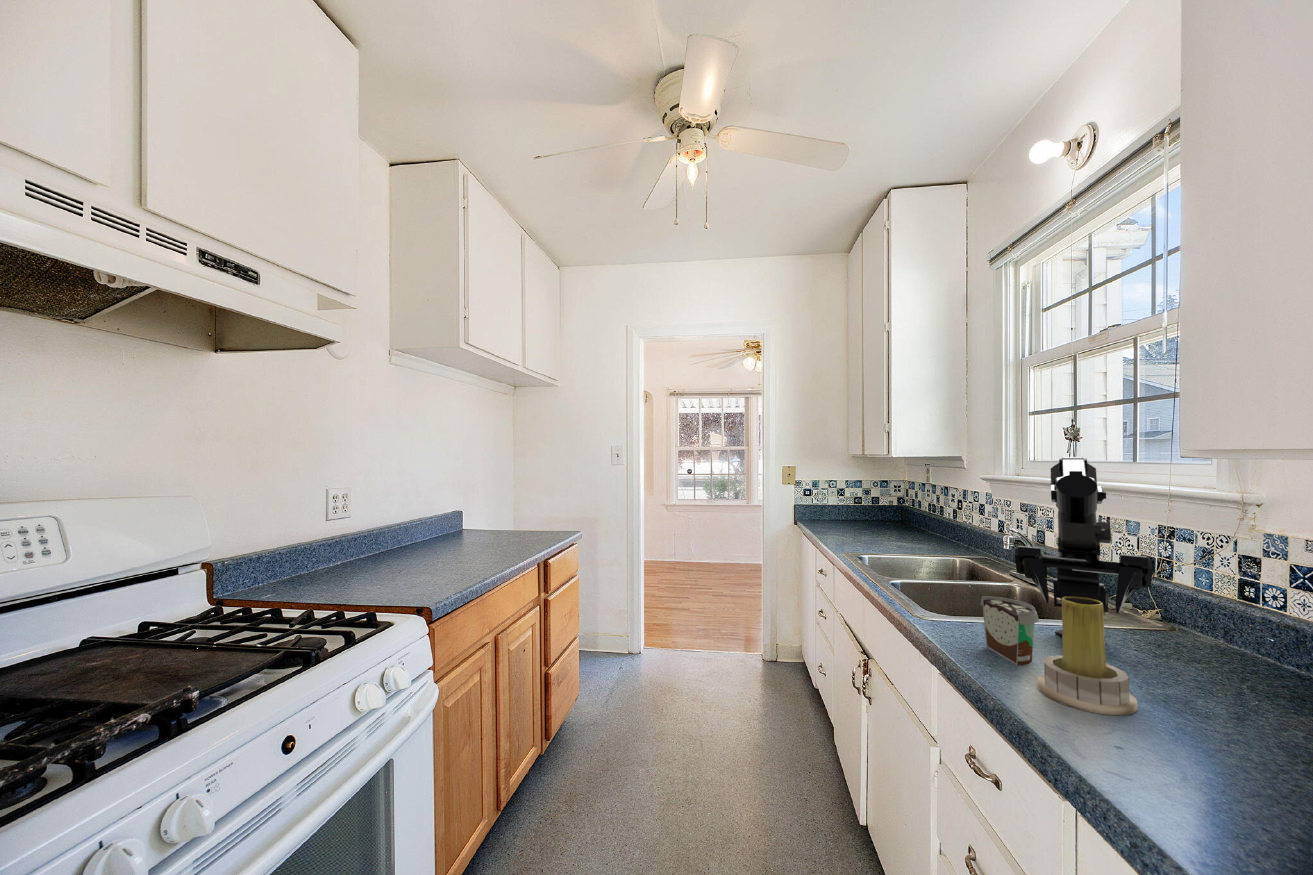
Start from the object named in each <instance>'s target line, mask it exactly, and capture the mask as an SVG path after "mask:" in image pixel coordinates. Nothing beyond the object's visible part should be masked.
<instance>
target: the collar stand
mask: <svg viewBox="0 0 1313 875" xmlns="http://www.w3.org/2000/svg"><path fill="white" fill-rule="evenodd" d="M1062 659H1063V655H1049V656H1048V657H1047V656H1046V657H1044V658H1043V673H1044V674H1043V675H1040V676H1039V677H1038V678H1037V688H1038V690H1039V692H1040V693H1041V694H1043V695H1044V696H1045V697H1047V698H1049V699H1051V700H1053V701H1055V702H1057V703H1059V704H1061V705H1065V706H1067V707H1070V708H1074V709H1077V710H1081V711H1085V712H1088V711H1089V713H1094V714H1098V713H1099V714H1100V715H1107V716H1128V715H1132V714H1135V713H1137V711H1138V701H1137V698H1136V697H1135V696H1134V695H1133V694H1131V693H1130V681H1129V680H1130V678H1129V676H1128V675H1127V673H1126V672H1125V671H1123V670H1122V669H1119V668H1117V667H1116V666H1114V665H1111V664H1108V663H1106V671H1107V679H1102V678H1092V677H1086V676H1080V675H1076V674H1073V673H1070V672H1067V671H1064V670H1062Z"/></svg>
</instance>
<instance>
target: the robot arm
mask: <svg viewBox="0 0 1313 875" xmlns="http://www.w3.org/2000/svg"><path fill="white" fill-rule="evenodd" d="M1050 498H1051V502H1052V503H1055V506H1056V508H1057V509H1058V512H1057V528H1058V530H1057V533H1058V535H1057V536H1058V537H1057V550H1058V555H1050V554H1049V555H1048V554H1042V548H1041V547H1039V546H1038V547H1037V546H1027V545H1026V546H1024V545H1018V546H1016V547H1015V548H1014V561H1015V569H1016V573H1018V574H1019V575H1024V577H1025V578H1026V579H1030V580H1032V581H1033V583H1034V585H1035V586H1037V588H1038V590H1039V593H1040V594H1041V596H1042V598H1043V600H1044V603H1045V604H1046V605H1049V604H1050V594H1049V589H1048V588H1049V587H1048V583H1047V577H1046V574H1045V568H1056V575H1057V576H1056V577H1053V578H1052V582H1053V584H1052V585H1053V586H1052V587H1053V588H1052V589H1053V607H1055V608H1057V607H1059V608H1062V598H1063V597H1069V596H1072V597H1084V598H1090V599H1094V600H1098V601H1100V602H1102V603H1103V610H1104V614H1105V613H1109V590H1107V589H1106V586H1105V583H1103V582H1100V574H1106V575H1115V576H1117V582H1116V583H1117V584H1116V592H1115V593H1116V594H1115V605H1114V606H1115V607H1114V608H1115V614H1117V615H1118V614H1119V615H1120V612H1121V610H1122V608H1123V606H1124V605H1125V602H1126V601H1127V599H1128V597H1129V596H1130V595H1131V594H1132V593H1133V591H1141V590H1142V588H1146V589H1147V588H1151V587H1152V581H1153V573H1154V572H1153V571H1154V567H1153V561H1152V559H1150V558H1149V557H1148V556H1145V555H1138V554H1137V555H1135V554H1124V553H1123V554H1122V553H1120V554H1119V561H1118V562H1117V561H1115V562H1114V561H1106V560H1100V556H1101V544H1111V543H1112V531H1111V530H1112V529H1111V523H1110V522H1098V519H1097V510H1098V505H1101V504H1102V503H1103V500H1106V499H1107V491H1105V490H1103V488H1102V487H1101V485H1098V479H1097V468H1096V467H1094V466H1093V465H1091V464H1090V463H1088V458H1087V457H1084V456H1062V457H1058V463H1056V464H1054V465H1053V466H1052V467H1050ZM1054 634H1055V635H1058V636H1060V637H1062V629H1060V630H1056V631H1055V632H1054ZM1104 640H1106V635H1104Z"/></svg>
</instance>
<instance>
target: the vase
mask: <svg viewBox="0 0 1313 875" xmlns="http://www.w3.org/2000/svg"><path fill="white" fill-rule="evenodd" d="M1061 619H1062V620H1061V622H1062V623H1061V624H1062V628H1061V630H1062V636H1061V638H1062V639H1061V641H1062V656H1063V659H1062V670H1064V671H1067V672H1070V673H1073V674H1076V675H1080V676H1086V677H1092V678H1102V679H1107V671H1106V664H1107V658H1106V644H1105V640H1106V639H1104V636H1105V613H1104V610H1103V603H1102V602H1100V601H1098V600H1094V599H1090V598H1084V597H1072V596H1069V597H1063V598H1062V607H1061Z"/></svg>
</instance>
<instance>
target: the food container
mask: <svg viewBox="0 0 1313 875" xmlns="http://www.w3.org/2000/svg"><path fill="white" fill-rule="evenodd" d="M980 600H981V601H980V606H982V613H983V622H984V623H983V624H984V635H985V637H984V638H985V646H986V648H987V649H989V650H991V651H993V652H994V653H996V654H997V655H999V656H1001V657H1002V658H1004V659H1006V660H1008V661H1010V662H1011V663H1012V664H1014V665H1016V666H1026V665H1030V664H1031V663H1033V650H1034V649H1033V648H1034V637H1035V636H1034V633H1035V624H1036V623H1038V622H1039V621H1040V620H1039V619H1040V618H1039V616H1038V612H1037V610H1036V608H1035V606H1033V605H1032V604H1030V603H1028V602H1025V601H1021V600H1017V599H1012V598H1007V597H1002V596H1001V597H1000V596H989V595H988V596H987V595H982V596H981V599H980Z"/></svg>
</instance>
